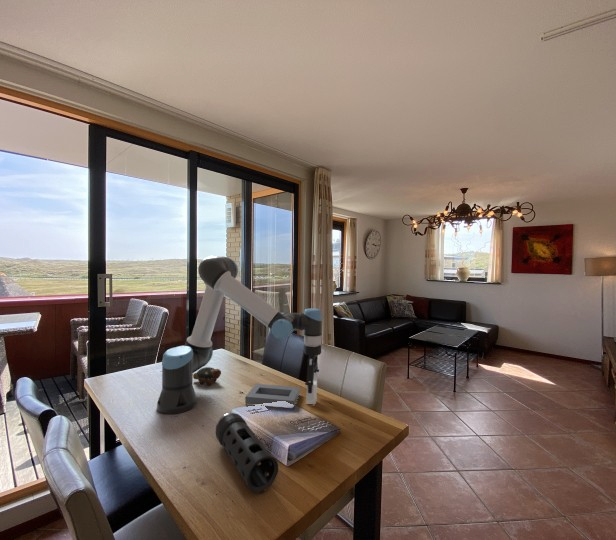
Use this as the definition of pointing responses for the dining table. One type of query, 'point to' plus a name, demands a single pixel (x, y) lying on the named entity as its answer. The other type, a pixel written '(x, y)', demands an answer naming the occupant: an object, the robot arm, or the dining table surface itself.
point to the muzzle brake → (246, 452)
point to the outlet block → (272, 394)
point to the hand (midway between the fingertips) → (312, 393)
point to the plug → (314, 394)
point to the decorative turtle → (207, 375)
